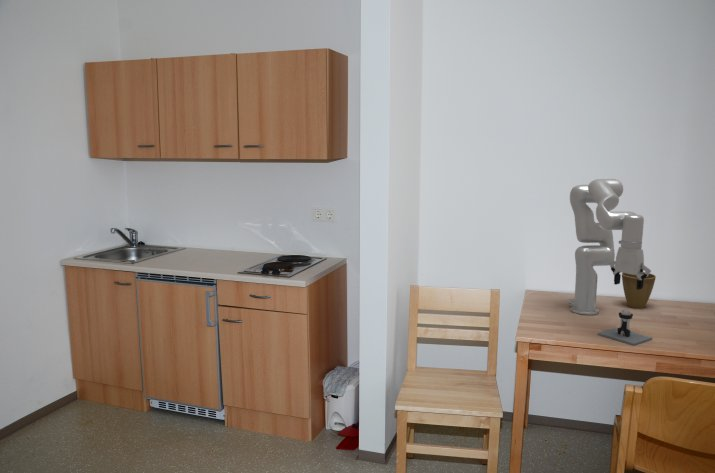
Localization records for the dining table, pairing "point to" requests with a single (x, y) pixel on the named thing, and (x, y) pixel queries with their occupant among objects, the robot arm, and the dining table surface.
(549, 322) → the dining table surface
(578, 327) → the dining table surface
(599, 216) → the robot arm
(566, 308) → the dining table surface
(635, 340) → the mat
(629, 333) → the black mechanical part
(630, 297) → the plant pot
